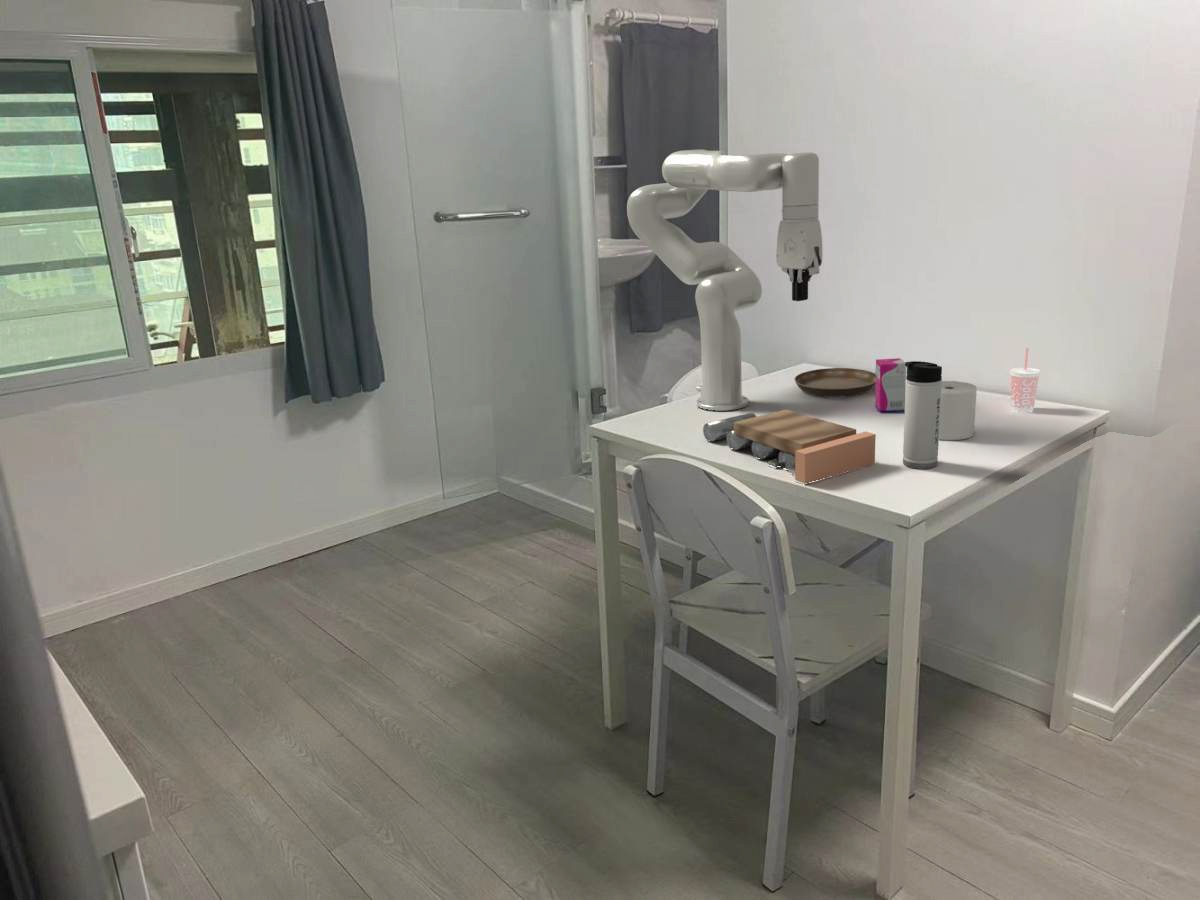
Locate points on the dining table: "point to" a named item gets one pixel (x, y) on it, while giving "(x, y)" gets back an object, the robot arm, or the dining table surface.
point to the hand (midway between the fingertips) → (800, 300)
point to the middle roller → (737, 441)
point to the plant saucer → (836, 382)
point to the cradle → (776, 463)
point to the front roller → (764, 450)
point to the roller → (786, 459)
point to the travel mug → (922, 414)
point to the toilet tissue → (957, 410)
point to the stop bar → (835, 457)
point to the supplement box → (890, 385)
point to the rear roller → (723, 427)
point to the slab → (790, 430)
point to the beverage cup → (1024, 387)
